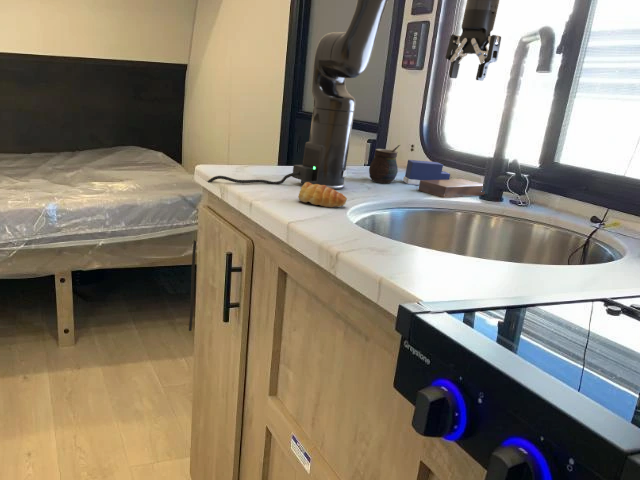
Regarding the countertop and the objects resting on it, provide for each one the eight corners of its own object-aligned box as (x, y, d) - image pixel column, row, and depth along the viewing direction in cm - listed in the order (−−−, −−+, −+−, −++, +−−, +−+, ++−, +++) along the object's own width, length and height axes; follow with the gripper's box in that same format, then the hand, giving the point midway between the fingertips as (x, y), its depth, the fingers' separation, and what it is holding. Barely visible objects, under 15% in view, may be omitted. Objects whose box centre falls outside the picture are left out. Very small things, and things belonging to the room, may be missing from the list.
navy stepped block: (407, 184, 154) (411, 162, 152) (402, 180, 158) (406, 159, 156) (449, 187, 155) (453, 165, 153) (443, 184, 159) (447, 162, 157)
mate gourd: (376, 178, 159) (383, 139, 155) (401, 183, 154) (409, 144, 150) (361, 180, 154) (367, 140, 150) (386, 186, 149) (394, 144, 145)
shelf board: (443, 197, 140) (445, 186, 139) (417, 190, 147) (419, 180, 146) (486, 195, 149) (489, 185, 148) (460, 188, 155) (462, 178, 154)
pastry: (349, 205, 123) (352, 186, 121) (339, 211, 117) (342, 191, 115) (306, 197, 126) (308, 179, 125) (294, 202, 120) (297, 183, 119)
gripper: (448, 8, 152) (434, 76, 157) (495, 6, 140) (479, 79, 146) (468, 12, 155) (454, 78, 161) (515, 11, 144) (498, 82, 150)
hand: (466, 79), depth 154 cm, fingers open, 8 cm apart
